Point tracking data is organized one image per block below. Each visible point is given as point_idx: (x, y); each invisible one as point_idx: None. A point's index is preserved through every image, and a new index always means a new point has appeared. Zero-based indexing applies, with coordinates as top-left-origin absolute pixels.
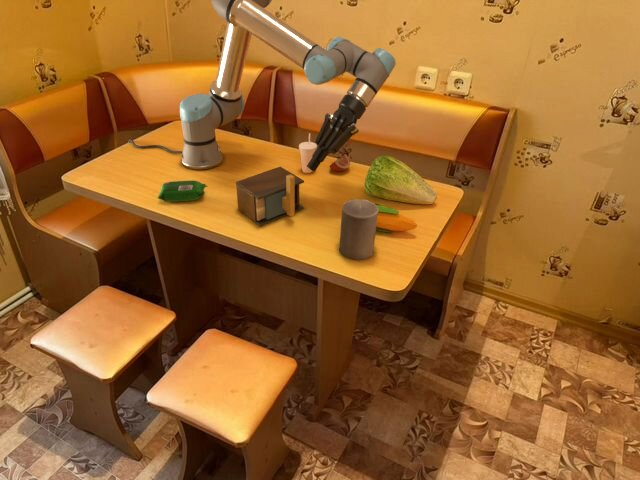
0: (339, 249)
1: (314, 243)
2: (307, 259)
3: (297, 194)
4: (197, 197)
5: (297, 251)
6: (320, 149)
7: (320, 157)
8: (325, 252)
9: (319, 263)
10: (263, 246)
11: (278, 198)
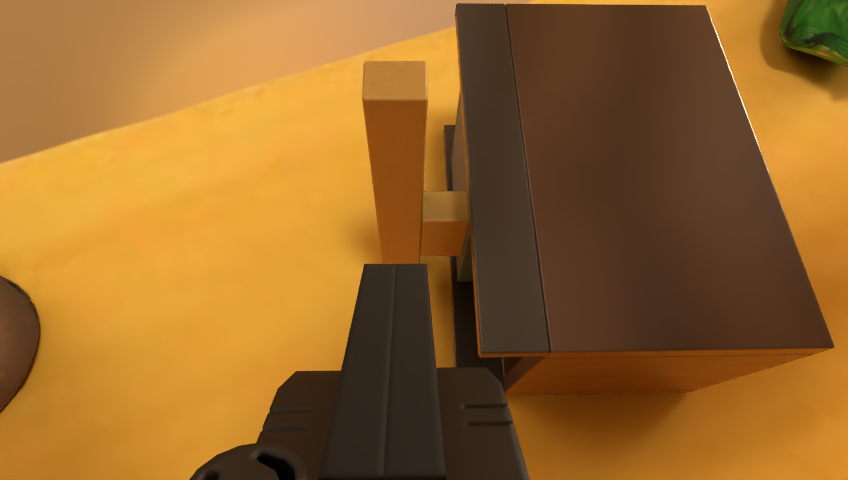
0: (19, 290)
1: (160, 234)
2: (105, 144)
3: (516, 364)
4: (782, 27)
5: (178, 146)
6: (362, 457)
7: (302, 403)
8: (70, 229)
9: (43, 163)
10: (309, 73)
11: (464, 165)
